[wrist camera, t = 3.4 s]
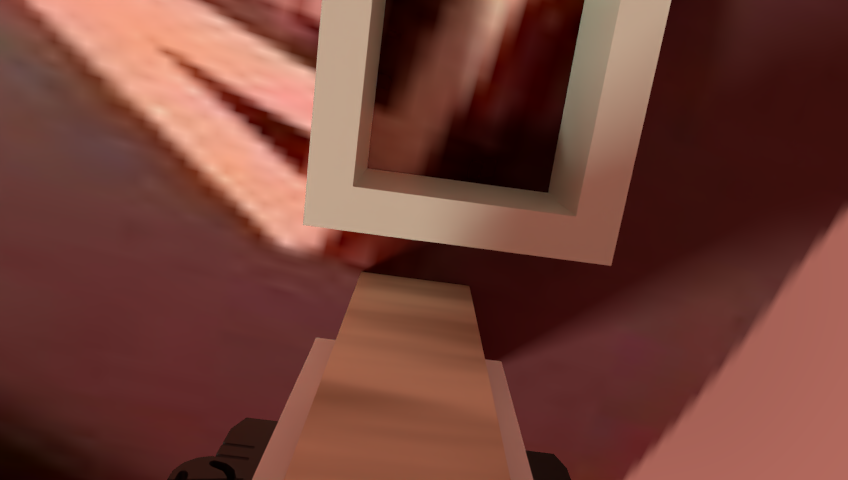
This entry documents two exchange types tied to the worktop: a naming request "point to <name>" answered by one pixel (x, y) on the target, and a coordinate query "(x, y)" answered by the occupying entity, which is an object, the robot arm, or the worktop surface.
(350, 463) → the wooden square peg
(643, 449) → the worktop surface
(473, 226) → the cream square open box
